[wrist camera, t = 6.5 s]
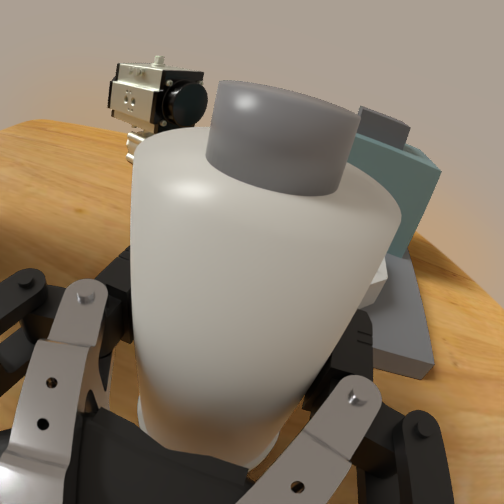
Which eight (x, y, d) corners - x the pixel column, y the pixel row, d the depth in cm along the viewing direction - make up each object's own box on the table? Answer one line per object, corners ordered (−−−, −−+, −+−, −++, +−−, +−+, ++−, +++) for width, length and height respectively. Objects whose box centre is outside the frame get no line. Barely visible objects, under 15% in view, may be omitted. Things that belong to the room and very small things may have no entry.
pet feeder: (126, 281, 18) (135, 78, 12) (227, 179, 34) (249, 73, 28) (421, 379, 16) (534, 214, 10) (394, 235, 32) (435, 135, 26)
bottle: (114, 443, 10) (54, 82, 4) (172, 346, 15) (207, 69, 9) (256, 499, 10) (495, 203, 3) (287, 387, 15) (407, 126, 8)
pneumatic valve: (134, 145, 38) (146, 53, 31) (196, 176, 33) (217, 63, 26) (97, 153, 34) (105, 53, 27) (154, 188, 29) (171, 59, 22)
